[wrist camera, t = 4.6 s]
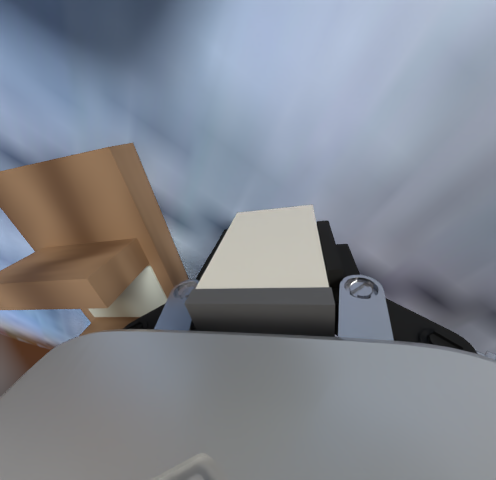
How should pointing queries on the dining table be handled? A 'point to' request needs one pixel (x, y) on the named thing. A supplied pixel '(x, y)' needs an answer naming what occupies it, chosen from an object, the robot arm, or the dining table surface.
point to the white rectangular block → (266, 278)
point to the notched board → (89, 238)
